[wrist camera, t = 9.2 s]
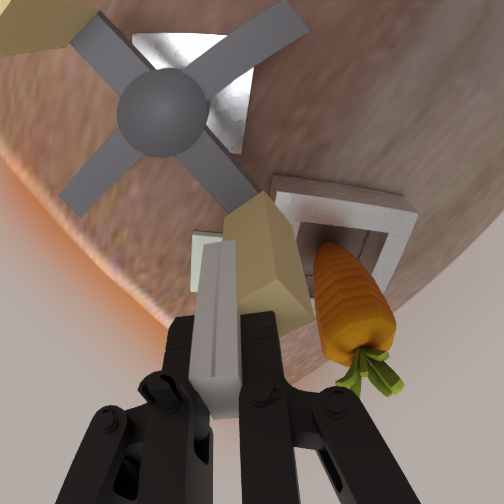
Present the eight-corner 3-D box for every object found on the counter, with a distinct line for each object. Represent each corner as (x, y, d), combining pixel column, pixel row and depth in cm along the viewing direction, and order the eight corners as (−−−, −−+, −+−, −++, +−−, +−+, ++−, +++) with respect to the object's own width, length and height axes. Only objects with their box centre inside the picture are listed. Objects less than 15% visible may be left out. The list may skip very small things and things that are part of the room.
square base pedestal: (257, 39, 17) (265, 34, 12) (241, 150, 22) (241, 192, 16) (136, 34, 17) (93, 30, 11) (130, 142, 21) (93, 180, 15)
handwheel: (-8, 104, 12) (-103, 155, 6) (183, -94, 7) (143, -172, 1) (175, 287, 20) (156, 391, 14) (383, 154, 15) (462, 231, 9)
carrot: (311, 275, 29) (349, 432, 17) (286, 235, 26) (320, 406, 14) (361, 251, 27) (426, 401, 15) (341, 208, 25) (417, 366, 13)
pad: (267, 237, 26) (268, 242, 26) (256, 292, 30) (256, 297, 29) (193, 230, 26) (192, 234, 25) (191, 286, 29) (190, 291, 29)
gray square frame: (403, 195, 24) (419, 213, 22) (362, 295, 31) (371, 317, 28) (272, 174, 23) (277, 191, 21) (252, 288, 29) (253, 312, 27)
